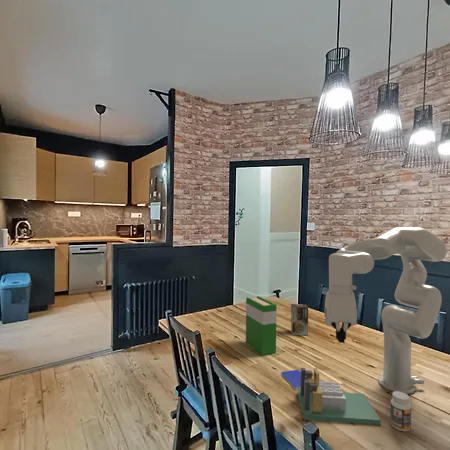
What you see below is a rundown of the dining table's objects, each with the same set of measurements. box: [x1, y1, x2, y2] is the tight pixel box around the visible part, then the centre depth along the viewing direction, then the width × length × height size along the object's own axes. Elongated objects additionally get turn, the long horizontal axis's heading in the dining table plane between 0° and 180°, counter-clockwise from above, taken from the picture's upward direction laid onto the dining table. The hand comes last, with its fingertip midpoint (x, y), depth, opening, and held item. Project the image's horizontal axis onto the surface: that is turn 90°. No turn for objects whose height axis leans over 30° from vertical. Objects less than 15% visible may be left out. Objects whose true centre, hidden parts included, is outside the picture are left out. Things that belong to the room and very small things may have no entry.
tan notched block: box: [306, 367, 322, 413], centre depth 107 cm, size 3×14×10 cm, turn 175°
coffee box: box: [290, 303, 309, 336], centre depth 176 cm, size 9×6×16 cm
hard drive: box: [280, 369, 301, 391], centre depth 124 cm, size 2×8×12 cm
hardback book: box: [245, 295, 277, 357], centre depth 156 cm, size 18×7×24 cm, turn 23°
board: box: [296, 367, 382, 426], centre depth 106 cm, size 24×15×11 cm, turn 85°
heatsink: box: [319, 380, 346, 412], centre depth 107 cm, size 8×10×6 cm
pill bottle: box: [389, 391, 412, 432], centre depth 97 cm, size 6×6×10 cm
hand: (340, 341), depth 107 cm, fingers closed
